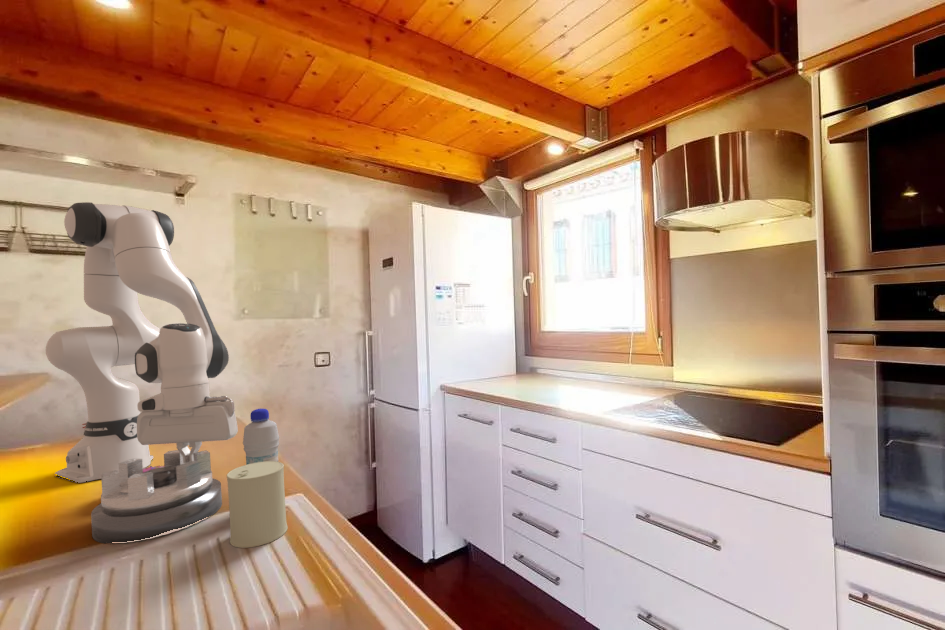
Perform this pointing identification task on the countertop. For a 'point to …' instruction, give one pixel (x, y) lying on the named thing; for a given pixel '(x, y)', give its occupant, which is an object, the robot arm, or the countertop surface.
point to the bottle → (261, 438)
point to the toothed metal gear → (155, 484)
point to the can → (256, 504)
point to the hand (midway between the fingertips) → (190, 462)
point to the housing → (154, 518)
